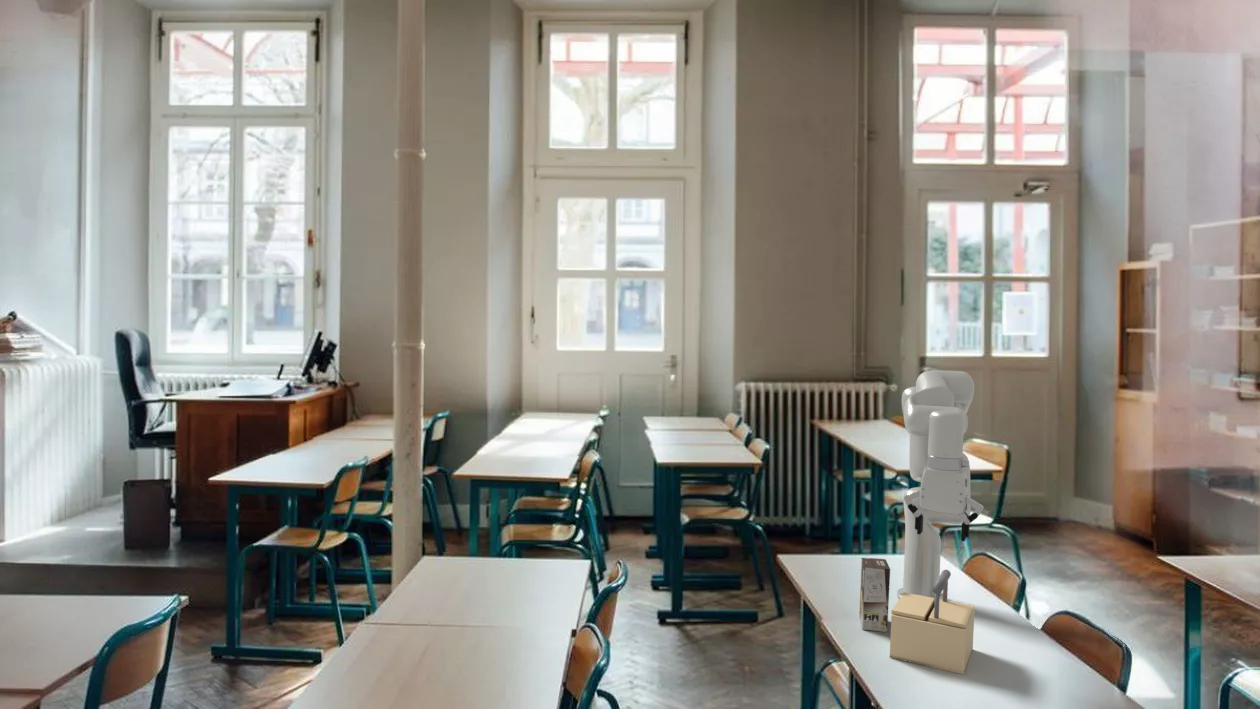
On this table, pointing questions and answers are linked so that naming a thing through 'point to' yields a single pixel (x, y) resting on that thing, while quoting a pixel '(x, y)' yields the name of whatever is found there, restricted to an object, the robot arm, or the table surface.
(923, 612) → the carton
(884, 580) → the coffee box
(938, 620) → the flap
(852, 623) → the table surface
